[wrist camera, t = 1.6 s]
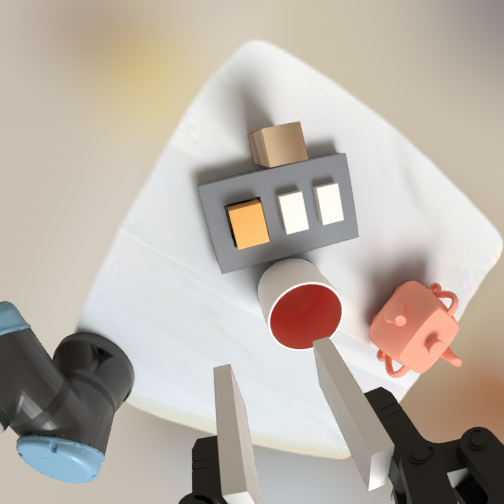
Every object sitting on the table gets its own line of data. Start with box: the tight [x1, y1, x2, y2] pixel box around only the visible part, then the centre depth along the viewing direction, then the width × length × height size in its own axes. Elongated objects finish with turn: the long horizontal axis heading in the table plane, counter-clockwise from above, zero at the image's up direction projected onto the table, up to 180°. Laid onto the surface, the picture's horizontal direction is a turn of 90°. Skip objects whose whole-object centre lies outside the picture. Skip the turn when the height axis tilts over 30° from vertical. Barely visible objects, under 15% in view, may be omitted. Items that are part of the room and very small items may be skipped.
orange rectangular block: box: [227, 199, 270, 250], centre depth 41 cm, size 4×5×3 cm
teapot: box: [369, 281, 461, 378], centre depth 48 cm, size 15×17×13 cm
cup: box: [258, 258, 344, 351], centre depth 44 cm, size 10×10×10 cm
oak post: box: [248, 121, 308, 168], centre depth 36 cm, size 4×4×12 cm
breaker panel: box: [198, 153, 359, 274], centre depth 43 cm, size 20×12×4 cm, turn 103°
